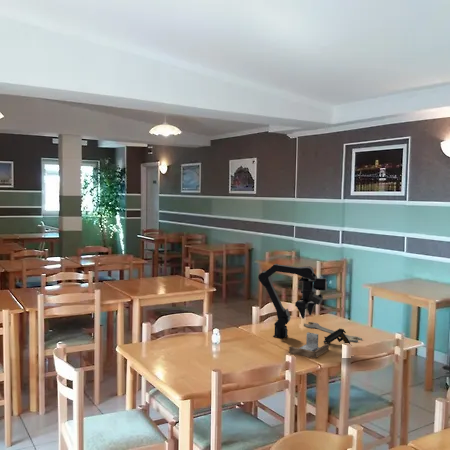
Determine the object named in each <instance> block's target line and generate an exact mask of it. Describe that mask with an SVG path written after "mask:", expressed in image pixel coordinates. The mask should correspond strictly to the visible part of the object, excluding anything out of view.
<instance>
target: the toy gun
mask: <svg viewBox="0 0 450 450" xmlns="http://www.w3.org/2000/svg"><path fill="white" fill-rule="evenodd" d="M334 331H335V332H333V333H332V334H331V333H329V335H327V336H324V340H323V343H324V344H330V343H332V342H333V341H335V340H337V342H338V343H340V342H342V341H343V342H344V344H345V343H349V345H350V344H351V342H350V341H349V340H348V338H347V337H346V336H345V335H346V333H347V332H346V330H345V329H344V328H338V329H337V330H334Z"/></svg>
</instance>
